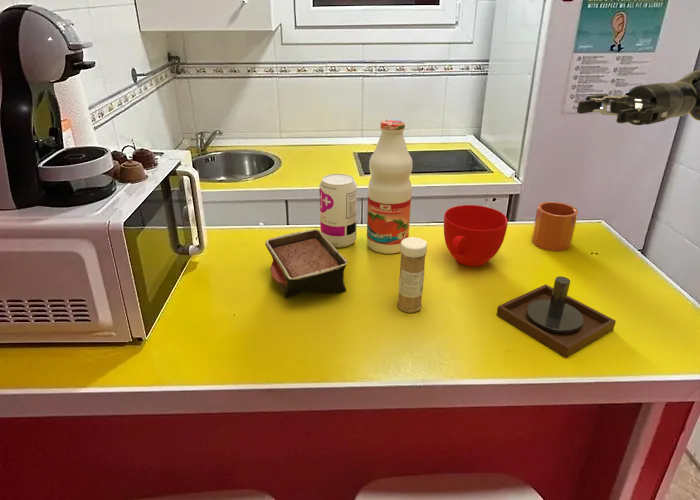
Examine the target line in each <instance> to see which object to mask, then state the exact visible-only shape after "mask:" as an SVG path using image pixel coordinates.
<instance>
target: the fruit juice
mask: <svg viewBox="0 0 700 500" xmlns="http://www.w3.org/2000/svg"><path fill="white" fill-rule="evenodd" d="M405 123H406V122H405V121H404V120H401V119H393V118H392V119H391V118H389V119H383V120H381V121H380V124H379V125H380V131H381V134H380V136H379V139H378V141H377V143H376V146H375V149H374V151H373V153H372V154H371V155H370V158H369V162H368V167H369V172H370V179H369V181H368V186H367V208H366V210H367V211H366V212H367V214H366V244H367V246H368V249H370V250H371V251H373V252H376V253H379V254H384V255H385V254H386V255H392V254H398V253H401V252H400V246H401V241H402V240H403V239H405V238H408V237H410V223H411V222H410V221H411V207H412V192H413V191H412V190H413V189H412V183H411V179H410V176H411V175H412V172H413V157H412V156H411V155H410V152H409V150H408V147H407V143H406V140H405V136H404V131H405V128H406V124H405Z"/></svg>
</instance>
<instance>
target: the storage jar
mask: <svg viewBox="0 0 700 500" xmlns="http://www.w3.org/2000/svg"><path fill="white" fill-rule="evenodd" d="M578 215H579V211H578V209H577V208H576V207H575V206H573V205H571V204H568V203H564V202H560V201H544V202H543V201H542V202H541V203H539V204H538V205H537V207H536V213H535V219H534V223H533V228H532V235H531V243H532V244H533V245H534V246H535V247H537V248H539V249H542V250H545V251H550V252H565V251H567V250H569V249H570V248H571V245H572V243H573V237H574V234H575V233H574V232H575V230H576V229H575V228H576V224H577V221H578Z"/></svg>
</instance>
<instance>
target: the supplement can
mask: <svg viewBox="0 0 700 500" xmlns="http://www.w3.org/2000/svg"><path fill="white" fill-rule="evenodd" d="M318 186H319V187H318V188H319V222H320V224H319V225H320V227H319V228H320V231H321V232H322V233H323V234H324V236H325V237H326V238H327V239H328V240H329V241H330V242H331V244H332V245H333V246H334V247H335V248H336V249H339V248H340V249H341V248H346V247H349V246H351V245H353V244H354V243H355V242H356V240H357V223H358V221H357V217H358V215H357V214H358V212H357V211H358V210H357V209H358V208H357V207H358V185H357V182H356V180H355V178H354V176H352V175H349V174H346V173H331V174H327V175H325V176H322V178H321V181H320V183H319V185H318Z"/></svg>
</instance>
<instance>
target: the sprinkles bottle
mask: <svg viewBox="0 0 700 500" xmlns="http://www.w3.org/2000/svg"><path fill="white" fill-rule="evenodd" d="M427 251H428V242H427V241H426V240H425V239H423V238H422V237H421V238H420V237H417V236H409V237H408V238H405V239H403V240H402V241H401V246H400V252H399V253H400V265H399V275H398V296H397V297H398V299H397V308H398V309H399V310H401V311H402V312H405V313H409V314H410V313H411V314H412V313H416V312H419V311H421V309H422V307H423V305H422V300H423V293H424V282H425V281H424V280H425V270H426V269H425V264H426V255H427V253H428V252H427Z"/></svg>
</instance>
